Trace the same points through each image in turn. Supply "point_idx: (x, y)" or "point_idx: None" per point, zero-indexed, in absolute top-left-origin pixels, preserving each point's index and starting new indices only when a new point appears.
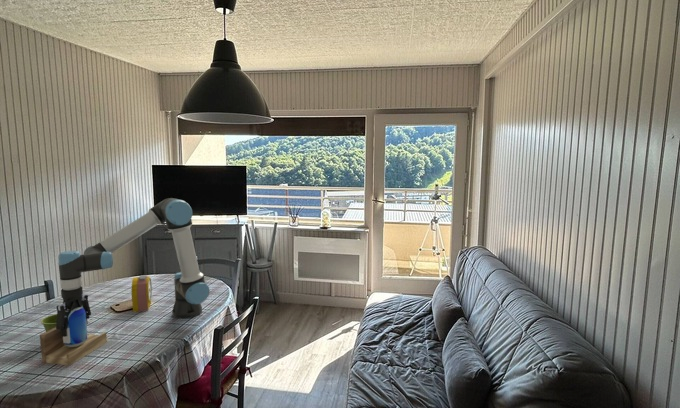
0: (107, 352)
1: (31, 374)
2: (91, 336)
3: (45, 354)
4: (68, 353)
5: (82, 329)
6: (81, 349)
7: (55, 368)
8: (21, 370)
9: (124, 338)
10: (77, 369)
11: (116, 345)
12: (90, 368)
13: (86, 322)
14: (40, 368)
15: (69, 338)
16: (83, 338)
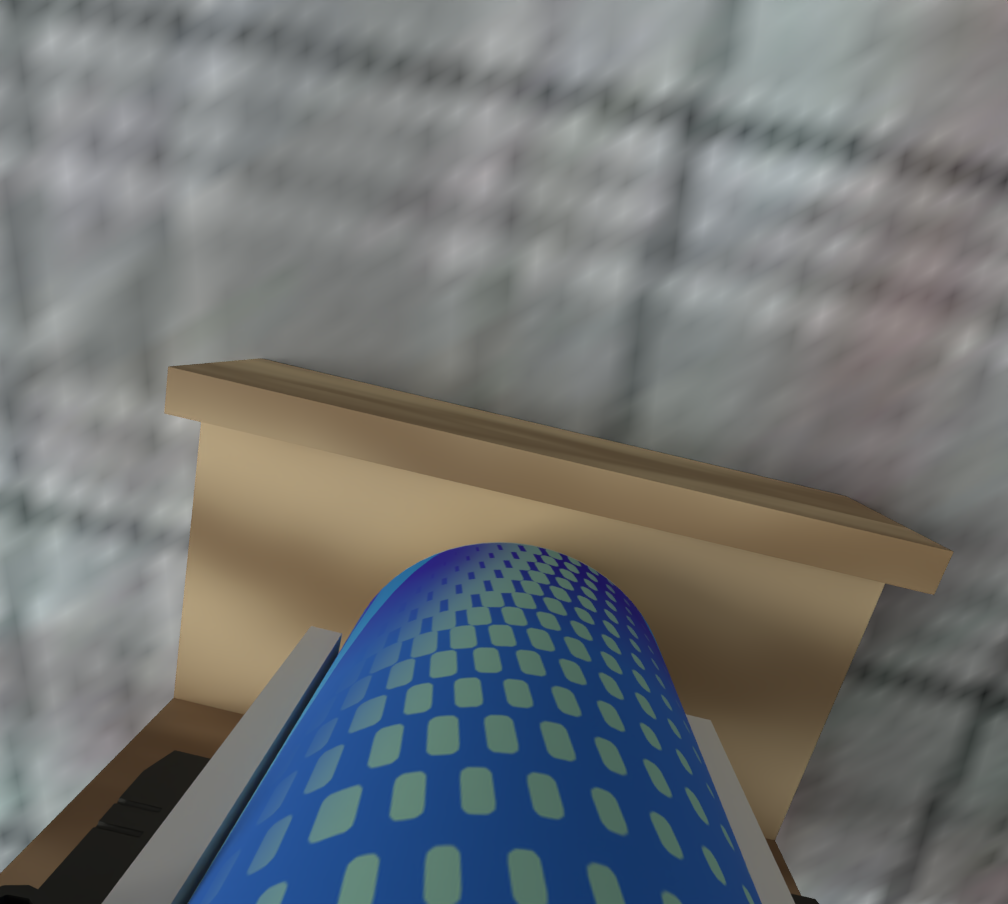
0: (552, 186)
1: (968, 774)
2: (238, 580)
3: (783, 862)
4: (908, 580)
5: (572, 706)
6: (701, 484)
7: (886, 614)
8: (857, 897)
9: (137, 157)
10: (975, 346)
11: (349, 164)
12: (990, 180)
13: (177, 815)
14: (852, 759)
15: (724, 786)
16: (554, 575)
